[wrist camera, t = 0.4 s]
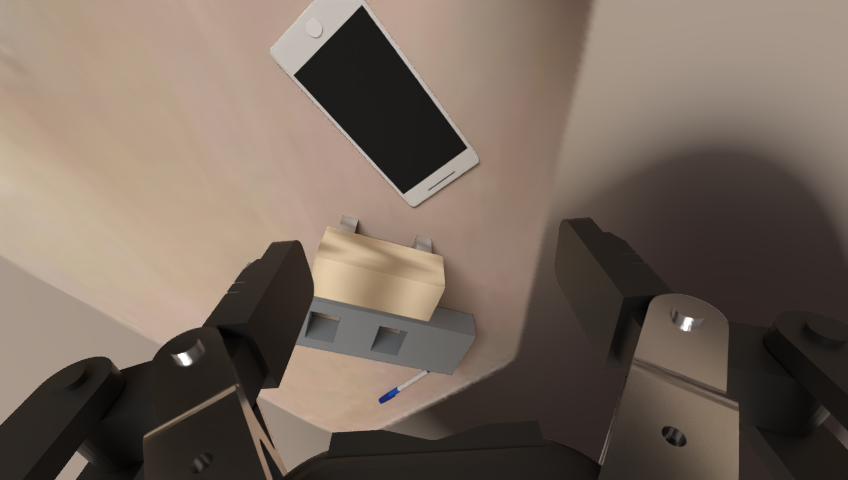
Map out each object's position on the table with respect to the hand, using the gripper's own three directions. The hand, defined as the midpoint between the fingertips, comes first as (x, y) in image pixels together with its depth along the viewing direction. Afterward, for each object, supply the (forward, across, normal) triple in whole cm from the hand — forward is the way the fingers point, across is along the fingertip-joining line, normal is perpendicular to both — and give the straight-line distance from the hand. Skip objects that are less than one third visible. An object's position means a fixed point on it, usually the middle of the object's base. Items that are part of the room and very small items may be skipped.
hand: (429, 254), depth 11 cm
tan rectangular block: (+19, +5, +11) cm, 22 cm away
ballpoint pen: (+21, +6, +34) cm, 41 cm away
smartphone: (+19, +3, -1) cm, 19 cm away
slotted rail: (+20, +9, +20) cm, 30 cm away
